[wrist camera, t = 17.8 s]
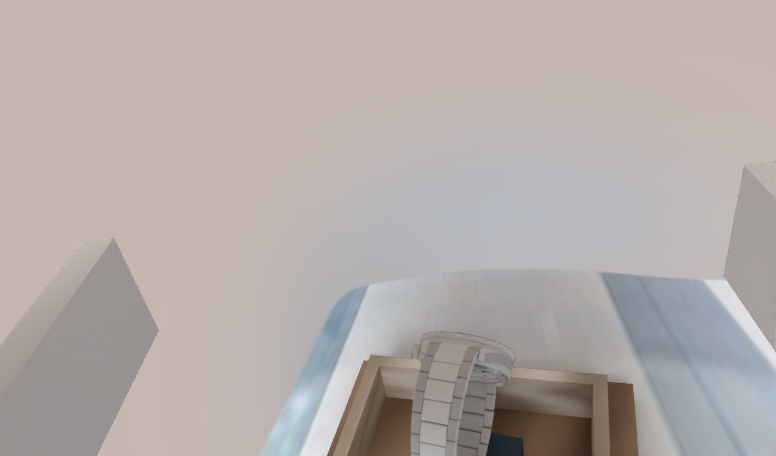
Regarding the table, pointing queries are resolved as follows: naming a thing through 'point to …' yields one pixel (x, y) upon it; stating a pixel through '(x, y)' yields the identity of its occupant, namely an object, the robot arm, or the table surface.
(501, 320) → the table surface
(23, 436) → the robot arm
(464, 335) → the watch
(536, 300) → the table surface
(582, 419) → the board
